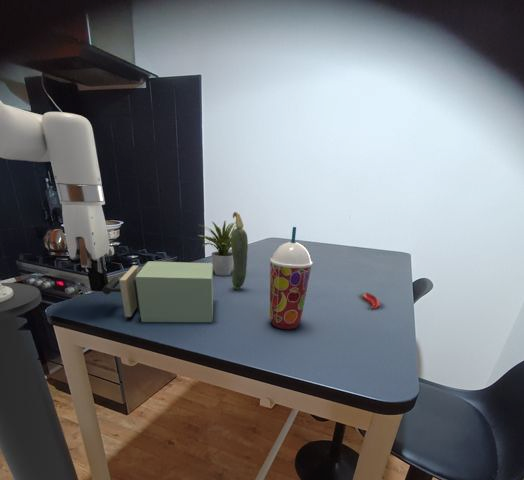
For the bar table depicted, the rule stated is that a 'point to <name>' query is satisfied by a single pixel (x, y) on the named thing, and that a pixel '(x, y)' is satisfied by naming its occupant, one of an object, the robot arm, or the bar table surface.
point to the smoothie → (288, 283)
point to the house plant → (221, 249)
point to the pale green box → (175, 292)
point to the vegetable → (239, 252)
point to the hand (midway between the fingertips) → (100, 289)
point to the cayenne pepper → (371, 300)
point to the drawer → (126, 290)
